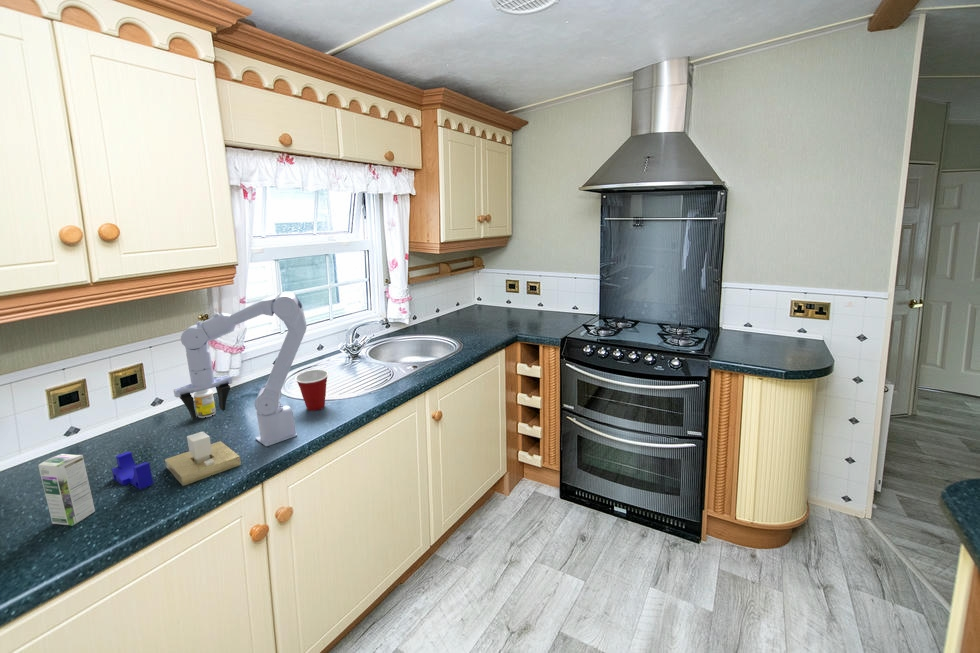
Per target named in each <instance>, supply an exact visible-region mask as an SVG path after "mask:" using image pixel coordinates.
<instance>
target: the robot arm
mask: <svg viewBox="0 0 980 653" xmlns="http://www.w3.org/2000/svg"><path fill="white" fill-rule="evenodd" d="M303 307H304V306H303V304H302V302H301V300H300V299H299V297H298V296H297V295H296V294H295V293H293V292H292V291H283V292H281V293H279V295H278V294H275V295H271V296H268V297H266V298H263V299H260V300H259V301H257V302H254V303H252V304H250V305H248V306H246V307H243V308H242V309H241V310H237V311H235V312H234V313H231V314H229V313H225V312H222V313H219V312H216V313H214V314H213V315H212V317H211V318H208V319H206V320H204V321H203V320H202V321H201V320H199V321H197V322H196V323H195V324H193V325H190V326H189V327H188V328H186V329H185V330H183V332H182V333H181V335H180V342H181V344H182V345H183V346H184V347H185V355H186V361H187V366H188V371H189V372H188V373H189V377H190V382H191V383H190V384H186V385H183V386H180V387H178V388H173V394H174V397H175V398H179V399H180V400H181V401H182V403H183V404H184V405H185V407H186V409H187V410H188V412H189V414H190V418H192V419H193V420H196V419H197V412H196V408H195V400H194V396H192V395H193V394H194V393H195V392H198V391H202V390H206V389H209V390H211V389H214V388H215V390H216V393H217V397H218V405H219V409H220V410H221V411H226V406H227V399H228V396H229V392H230V391H231V384H233V378H232V376H231V375H227V376H222V377H215V375H214V368H213V362H212V357H211V351H210V347H209V342H212V341H215V340H216V339H220V338H221V337H223V336H226V335H228V334H231V333H232V332H234V331H235V328H236V326H237V325H239V324H242V323H244V322H247V321H248V320H251V319H255V318H257V317H259V316H262V315H265V316H270V317H273V316H274V314H275V316H277V318H279V320H281V321H282V322H283V323H284V325H285V327H286V329H287V333H286V336H285V338H284V340H283V342H282V344H281V348H280V350H279V353H278V355H277V357H276V360H275V362H274V364H273V367H272V368H271V371H270V374H269V376H268V379H267V381H266V383H265V384H264V385H263V386H261V388H260V389H259V391H258V394H257V397H256V399H255V401H254V408H255V410H256V418H257V425H258V431H259V435H258V436H255V440H257V441H258V442H259V443H260V444H263V446H265V447H270V446H272V445H274V444H278V443H281V442H283V441H285V440H289V439H291V438H295V437H298V433H297V430H296V423H295V416H294V412H293V409H292V408H291V407H290V406H289V405H288V404H287V405H282V403H281V402H280V400H281V397H282V389H283V386H284V384H285V381H286V379H287V376H288V374H289V371H290V370H291V367H292V365H293V362H294V360H295V358H296V356H297V353H298V350H299V348H300V346H301V343H302V341H303V339H304V336H305V334H306V331H307V327H308V324H307V321H306V317H305V312H304V308H303Z"/></svg>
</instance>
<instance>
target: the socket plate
mask: <svg viewBox="0 0 980 653" xmlns="http://www.w3.org/2000/svg"><path fill="white" fill-rule="evenodd" d="M211 448H212V454H211V455H209V456H210V459H208V460H205V461H202V462H199V463H195V462H194V457H193V456H192V455H191V454H190V452H189V451H186V452H182V453H180V454H176V455H174V456H170V457H168V458H165V459H164V461H165V466H166V469H167V470H168V471H169V472H170V473H171V474H172V476H173V477H175V479H176V480H177V481H178V482H179V483H180V484H181V486H182V487H184V486H187V485H190V484H192V483H194V482H195V483H196V482H198V481H200V480H204V479H206V478H209V477H211V475H212V476H214V475H216V474H217V475H218V474H219V473H222V472H225V471H228V470H230V469H233V468H235V467H239V466H241V465H242V464H241V456H240V455H239V454H237V452H235V451H234V450H232V449H231V448H230V447H229V446H227V445H226V444H225V443H224V442H223V441H216V442H213V443H211Z"/></svg>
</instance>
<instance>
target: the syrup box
mask: <svg viewBox="0 0 980 653" xmlns="http://www.w3.org/2000/svg"><path fill="white" fill-rule="evenodd" d="M37 465H38V466H37V467H38V471H39V475H40V478H41V482H42V487H43V489H44V490H43V491H44V495H45V499H46V503H47V507H48V511H49V515H50V520H51V523H52V525H63V526H72V527H73V526H74V525H76V524H78V523H79V522H81V521H83V520H84V519H86V518H88V517H89V516H90V515H92V514H93V513H94V512H96V509H95V505H94V499H93V495H92V491H91V487H90V483H89V478H88V473H87V470H86V464H85V460H84V456H83V454H67V453H61V454H58V455H55V456H52V457H50V458H48V459H46V460H44V461H42V462H41V463H39V464H37Z"/></svg>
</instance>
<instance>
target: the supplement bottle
mask: <svg viewBox="0 0 980 653" xmlns="http://www.w3.org/2000/svg"><path fill="white" fill-rule="evenodd" d="M193 398H194V407H195V412H196V417H198V418H201V419H204V418H205V417H206V418H210V417H213V416H214V415H215V414H216V413H217V412H216V406H215V405H216V403H215V398H214V393H213V390H212V389H206V390H202V391H198V392H194V393H193ZM212 415H213V416H212ZM206 418H205V419H206Z"/></svg>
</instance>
